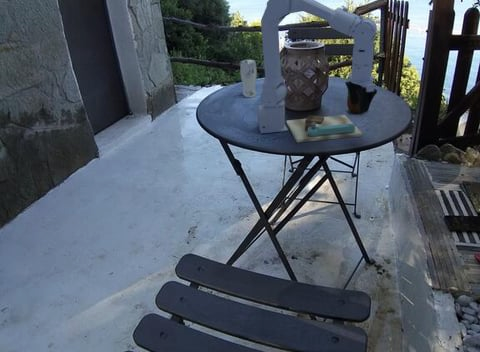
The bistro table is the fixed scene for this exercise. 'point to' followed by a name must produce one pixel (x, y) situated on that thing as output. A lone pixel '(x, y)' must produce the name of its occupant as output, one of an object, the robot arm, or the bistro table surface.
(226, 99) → the bistro table surface
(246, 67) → the beer glass
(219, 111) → the bistro table surface
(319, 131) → the teal link
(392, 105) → the bistro table surface
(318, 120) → the walnut keeper
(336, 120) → the birch plate
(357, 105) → the wooden figurine
